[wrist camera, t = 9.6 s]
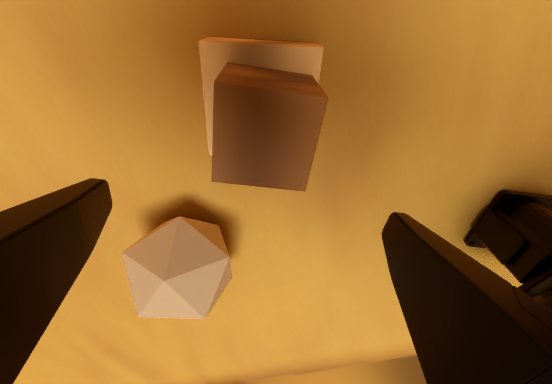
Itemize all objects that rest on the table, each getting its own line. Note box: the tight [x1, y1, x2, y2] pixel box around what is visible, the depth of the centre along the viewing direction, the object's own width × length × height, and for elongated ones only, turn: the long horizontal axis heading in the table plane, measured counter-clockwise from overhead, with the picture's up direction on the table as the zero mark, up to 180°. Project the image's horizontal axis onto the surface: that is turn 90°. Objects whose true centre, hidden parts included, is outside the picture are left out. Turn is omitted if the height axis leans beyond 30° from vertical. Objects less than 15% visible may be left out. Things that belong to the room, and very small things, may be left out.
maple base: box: [198, 37, 324, 156], centre depth 19 cm, size 7×7×3 cm
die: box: [122, 216, 232, 319], centre depth 24 cm, size 8×9×10 cm
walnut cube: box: [212, 62, 328, 191], centre depth 15 cm, size 5×5×5 cm
